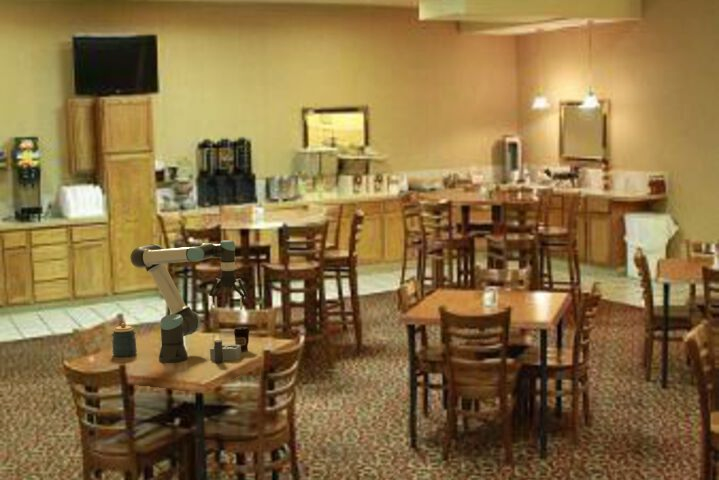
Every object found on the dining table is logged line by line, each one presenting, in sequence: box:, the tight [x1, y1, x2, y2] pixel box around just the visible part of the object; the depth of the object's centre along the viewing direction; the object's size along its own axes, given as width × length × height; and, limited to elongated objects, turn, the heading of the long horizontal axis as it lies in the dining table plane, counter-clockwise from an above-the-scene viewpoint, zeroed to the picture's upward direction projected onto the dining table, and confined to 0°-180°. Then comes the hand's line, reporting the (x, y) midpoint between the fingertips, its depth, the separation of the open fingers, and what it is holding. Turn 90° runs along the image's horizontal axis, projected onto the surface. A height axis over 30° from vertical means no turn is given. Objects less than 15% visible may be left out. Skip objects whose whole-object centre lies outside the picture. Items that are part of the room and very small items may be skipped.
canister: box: [111, 322, 138, 358], centre depth 549 cm, size 13×13×18 cm
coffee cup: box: [233, 326, 250, 353], centre depth 551 cm, size 9×8×13 cm
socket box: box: [209, 344, 242, 361], centre depth 537 cm, size 14×10×6 cm
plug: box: [213, 338, 224, 365], centre depth 526 cm, size 4×4×12 cm
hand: (228, 309), depth 535 cm, fingers open, 13 cm apart
